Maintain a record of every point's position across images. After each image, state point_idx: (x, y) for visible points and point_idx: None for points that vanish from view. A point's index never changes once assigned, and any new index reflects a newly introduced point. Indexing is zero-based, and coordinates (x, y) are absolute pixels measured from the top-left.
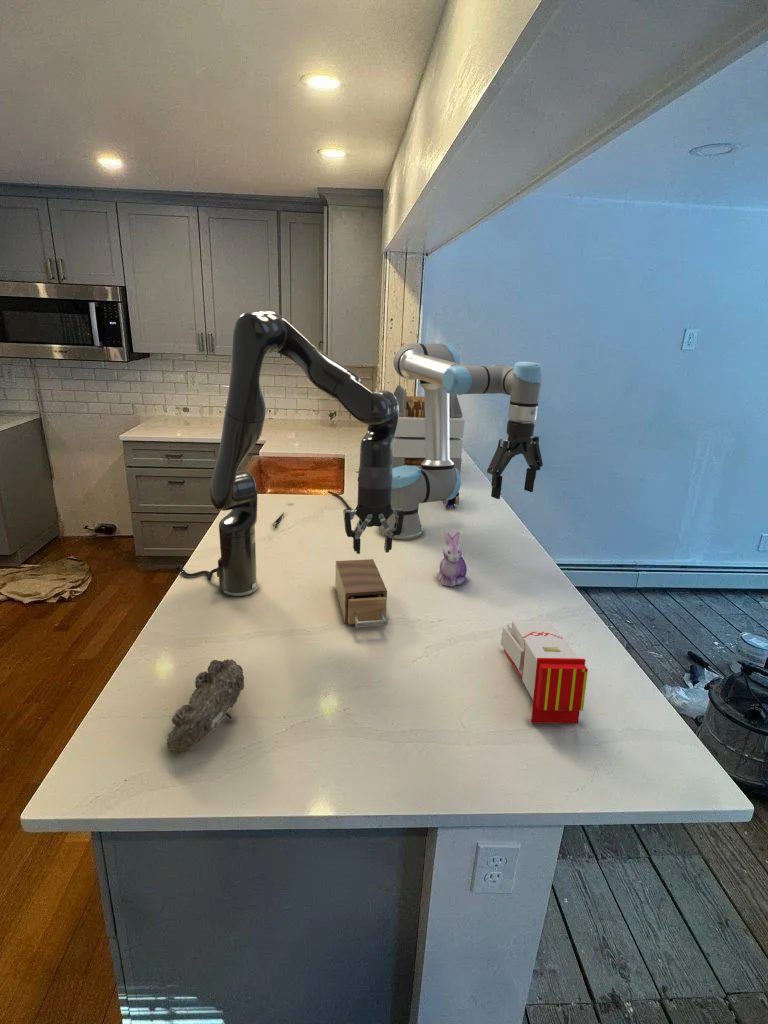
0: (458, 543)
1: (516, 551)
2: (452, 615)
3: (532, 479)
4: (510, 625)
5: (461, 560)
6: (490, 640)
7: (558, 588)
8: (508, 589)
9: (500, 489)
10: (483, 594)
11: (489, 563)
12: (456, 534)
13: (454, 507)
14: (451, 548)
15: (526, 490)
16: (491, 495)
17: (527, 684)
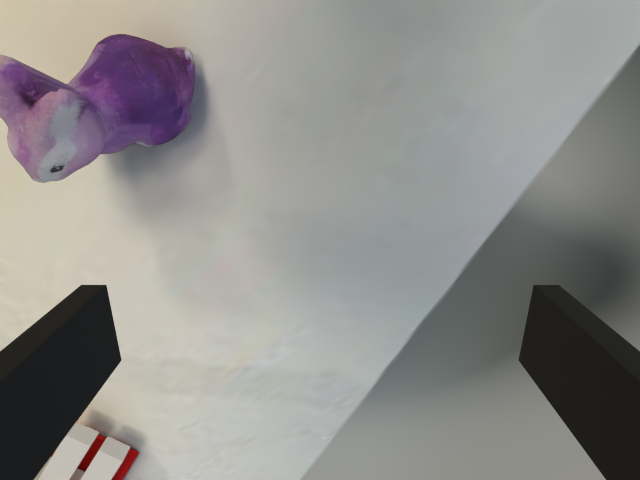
0: (58, 141)
1: (544, 36)
2: (34, 267)
3: (595, 456)
4: (61, 446)
5: (136, 127)
6: None
7: (406, 306)
8: (273, 241)
9: (63, 426)
10: (184, 226)
11: (361, 66)
12: (38, 113)
13: None
14: (12, 153)
15: (529, 313)
16: (75, 294)
17: None
